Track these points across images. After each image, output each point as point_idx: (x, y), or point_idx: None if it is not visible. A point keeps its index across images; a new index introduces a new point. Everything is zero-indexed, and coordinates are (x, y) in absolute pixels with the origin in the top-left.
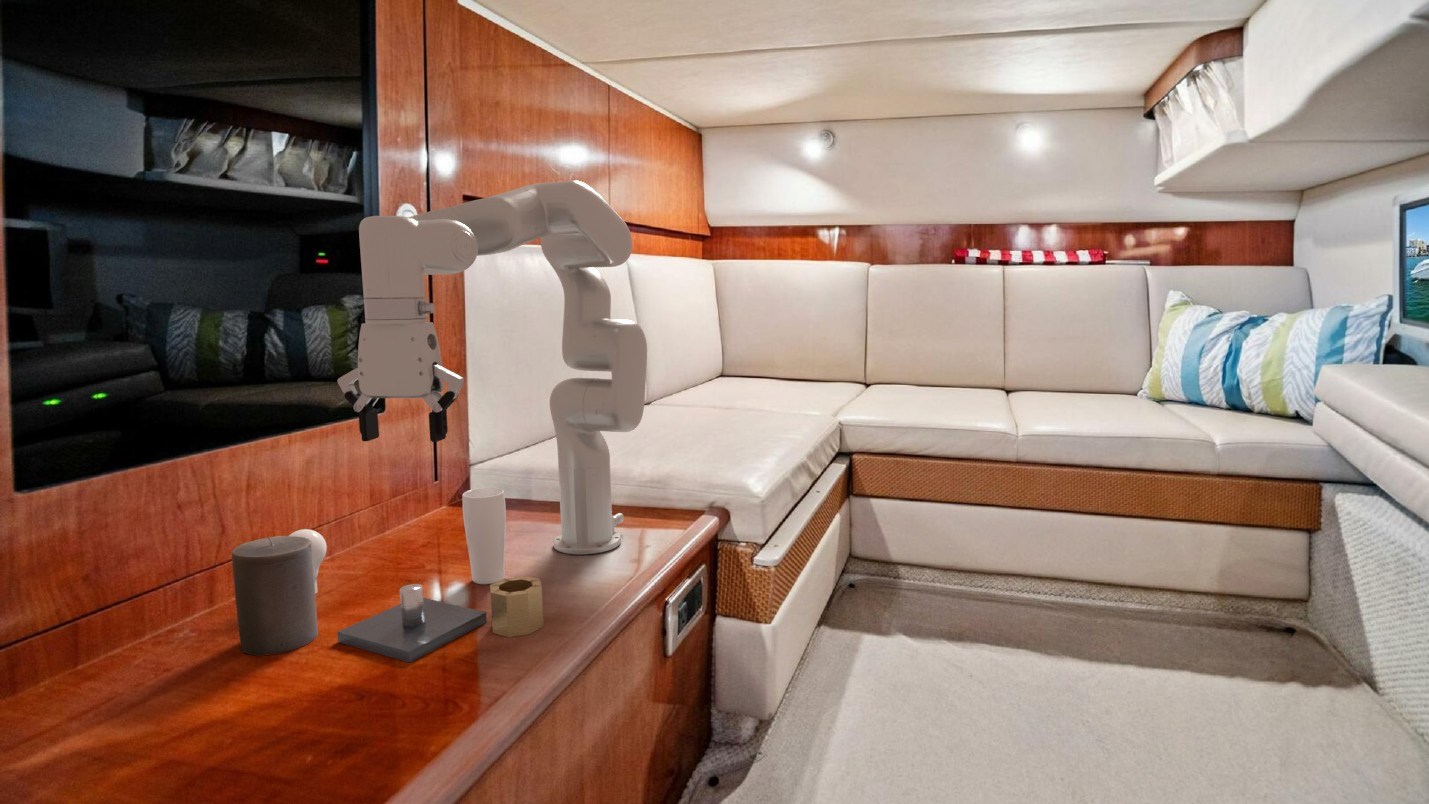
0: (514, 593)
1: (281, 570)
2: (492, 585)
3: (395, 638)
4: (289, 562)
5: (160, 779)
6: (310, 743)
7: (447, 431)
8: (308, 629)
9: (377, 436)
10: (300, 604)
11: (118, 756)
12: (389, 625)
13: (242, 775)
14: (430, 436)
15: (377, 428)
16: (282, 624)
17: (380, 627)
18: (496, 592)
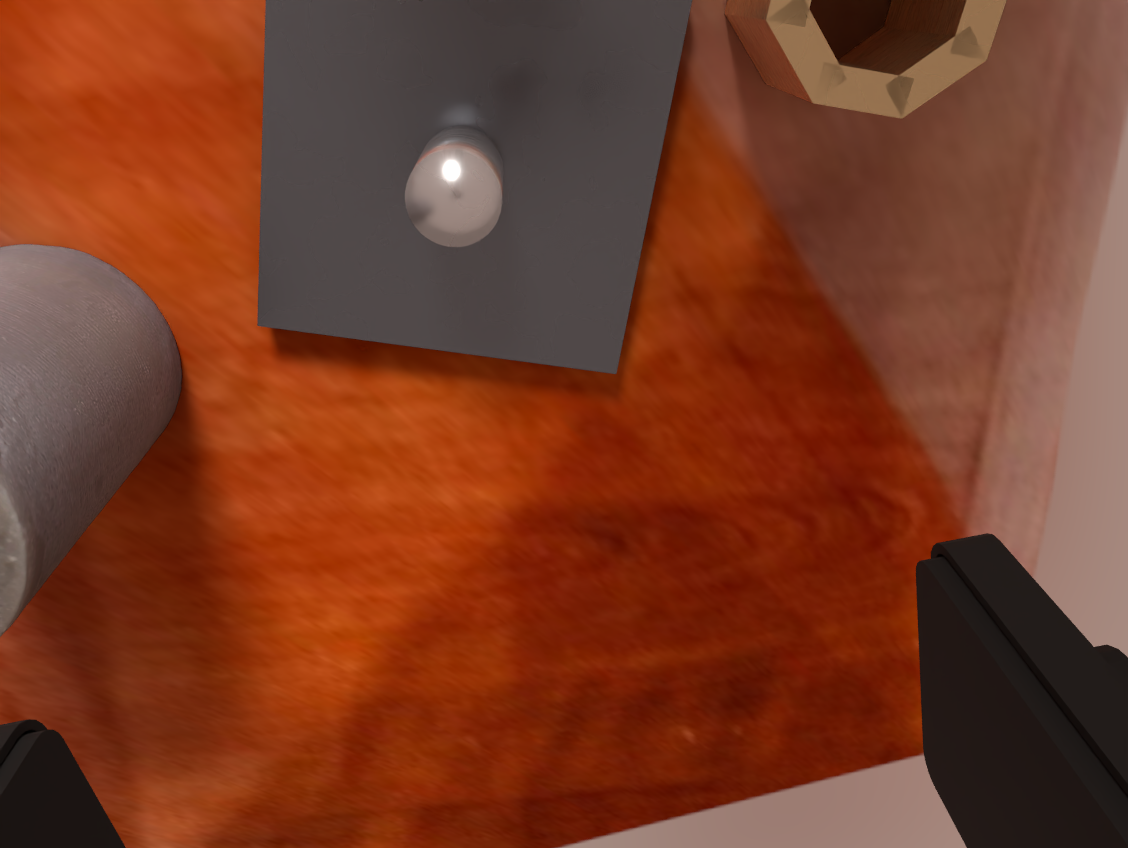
0: (925, 79)
1: (52, 566)
2: (779, 18)
3: (501, 308)
4: (49, 555)
5: (468, 843)
6: (649, 702)
7: (1110, 646)
8: (161, 363)
9: (64, 759)
10: (127, 430)
11: (311, 828)
12: (397, 226)
13: (605, 798)
14: (953, 811)
15: (5, 836)
16: (136, 464)
17: (378, 250)
18: (840, 95)
